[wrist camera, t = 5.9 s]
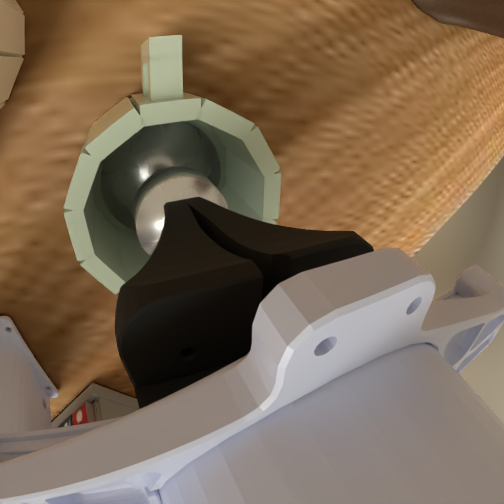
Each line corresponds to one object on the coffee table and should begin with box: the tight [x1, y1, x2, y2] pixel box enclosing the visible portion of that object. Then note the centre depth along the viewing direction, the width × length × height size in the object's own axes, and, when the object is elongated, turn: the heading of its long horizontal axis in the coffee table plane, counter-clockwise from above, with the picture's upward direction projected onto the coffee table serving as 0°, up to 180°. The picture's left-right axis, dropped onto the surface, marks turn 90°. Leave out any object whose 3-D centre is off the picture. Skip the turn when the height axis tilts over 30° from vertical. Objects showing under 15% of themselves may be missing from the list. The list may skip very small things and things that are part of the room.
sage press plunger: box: [101, 121, 228, 256], centre depth 14 cm, size 6×6×6 cm
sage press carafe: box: [64, 35, 281, 294], centre depth 14 cm, size 12×9×6 cm
